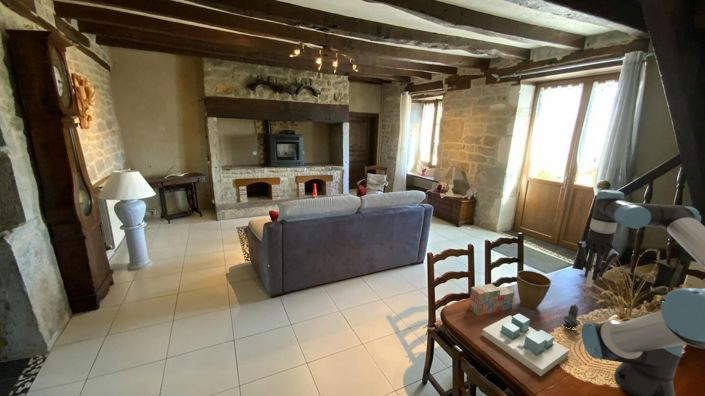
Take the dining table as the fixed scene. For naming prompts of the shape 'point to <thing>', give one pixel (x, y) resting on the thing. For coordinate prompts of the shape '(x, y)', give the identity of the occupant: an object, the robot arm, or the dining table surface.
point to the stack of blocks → (490, 299)
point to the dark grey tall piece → (571, 317)
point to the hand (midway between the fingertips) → (588, 285)
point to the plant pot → (532, 288)
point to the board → (522, 354)
